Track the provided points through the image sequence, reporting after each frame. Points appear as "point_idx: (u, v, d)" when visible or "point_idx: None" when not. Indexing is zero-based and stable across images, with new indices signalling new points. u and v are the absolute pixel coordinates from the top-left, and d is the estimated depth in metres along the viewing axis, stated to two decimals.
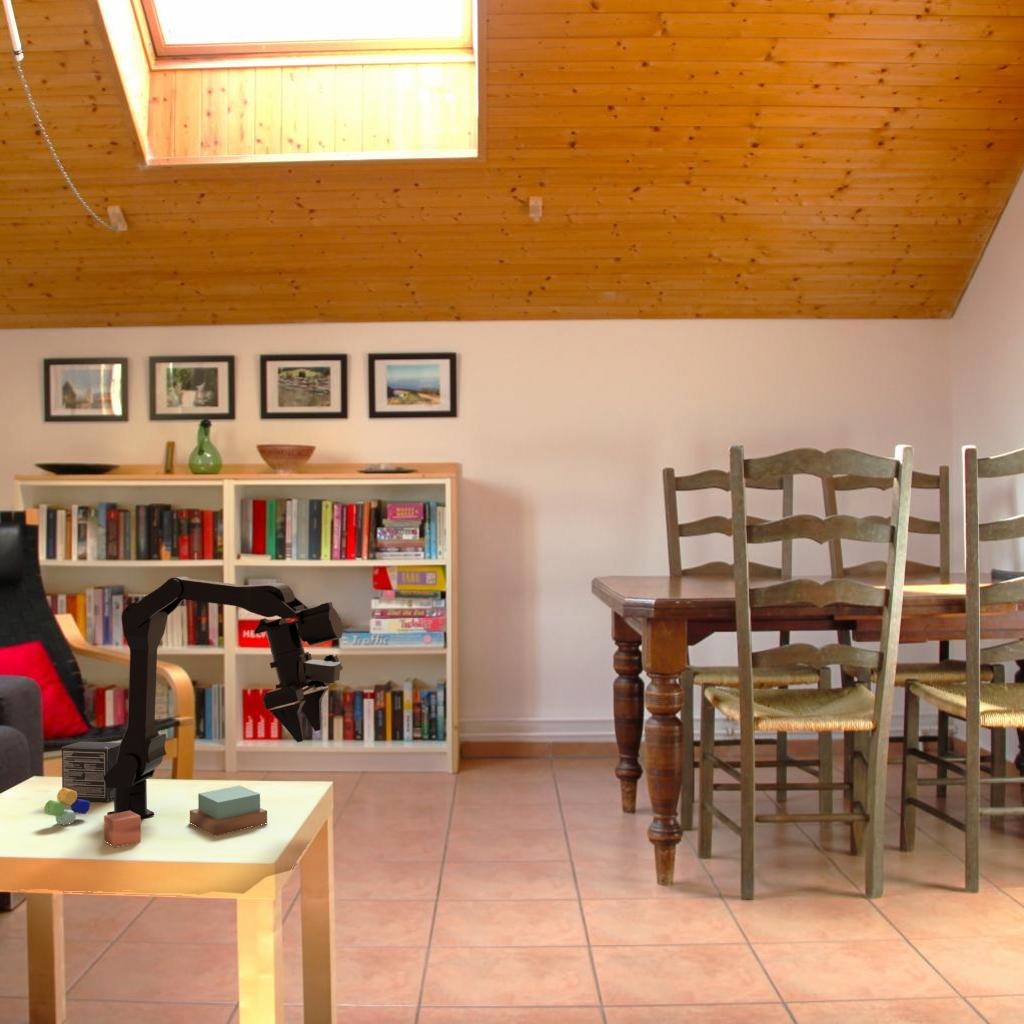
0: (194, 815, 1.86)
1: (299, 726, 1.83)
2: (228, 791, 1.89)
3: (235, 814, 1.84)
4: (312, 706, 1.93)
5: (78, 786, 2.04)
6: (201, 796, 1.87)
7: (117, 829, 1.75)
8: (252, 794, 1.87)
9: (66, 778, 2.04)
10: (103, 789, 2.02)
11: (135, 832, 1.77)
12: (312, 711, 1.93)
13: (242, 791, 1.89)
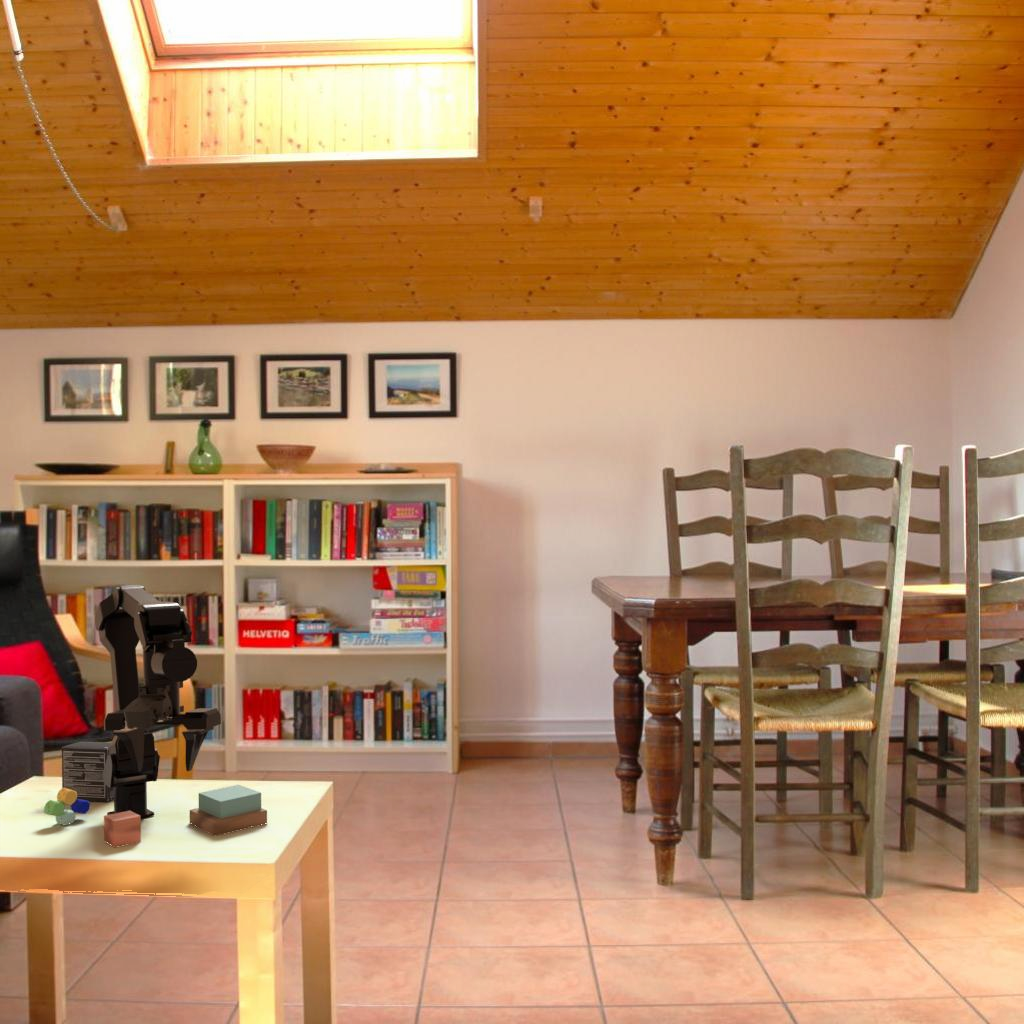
0: (194, 814, 1.86)
1: (131, 755, 1.76)
2: (228, 790, 1.89)
3: (237, 813, 1.84)
4: None
5: (78, 787, 2.04)
6: (202, 795, 1.87)
7: (117, 829, 1.75)
8: (253, 793, 1.87)
9: (66, 778, 2.04)
10: (103, 789, 2.02)
11: (135, 831, 1.77)
12: None
13: (242, 790, 1.89)
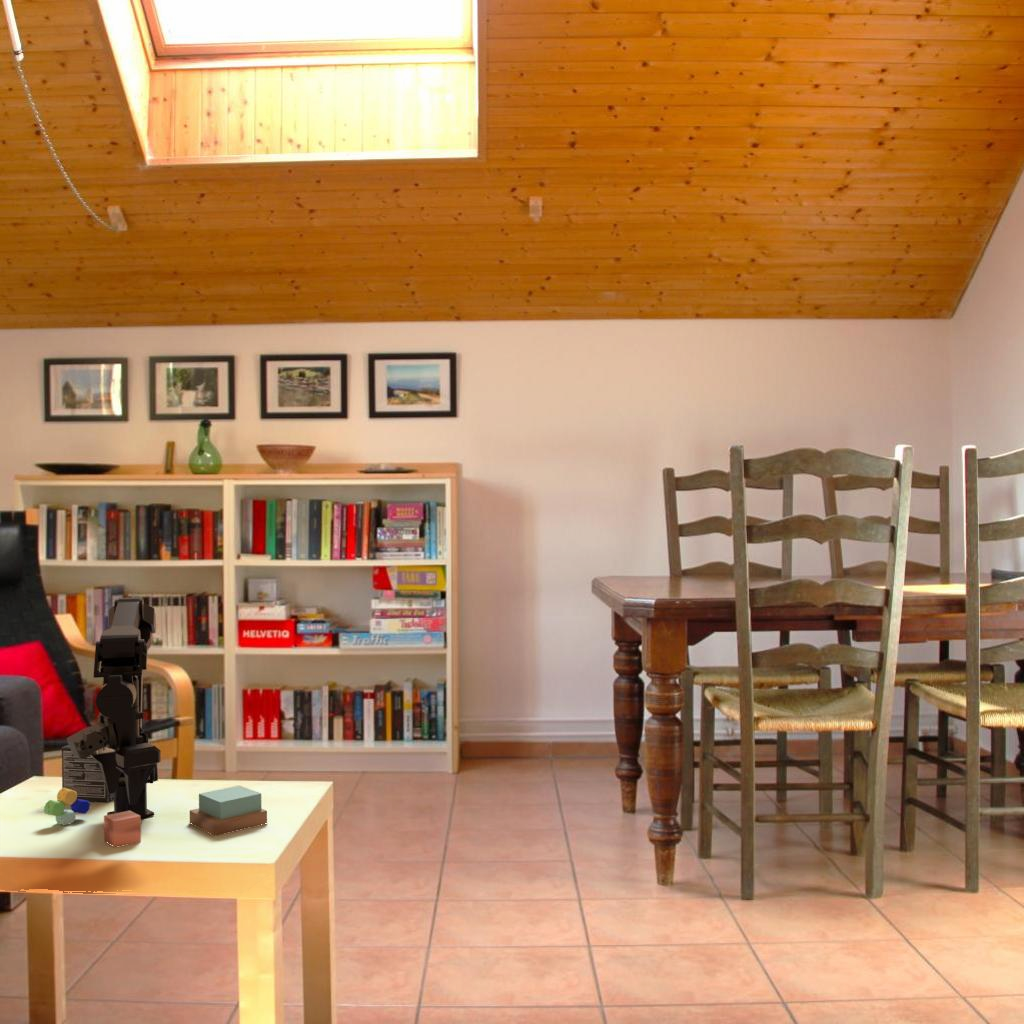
0: (194, 815, 1.86)
1: None
2: (229, 791, 1.89)
3: (237, 814, 1.84)
4: None
5: (78, 787, 2.04)
6: (202, 796, 1.87)
7: (117, 829, 1.75)
8: (253, 794, 1.87)
9: (66, 778, 2.04)
10: (103, 789, 2.02)
11: (135, 832, 1.77)
12: None
13: (243, 791, 1.89)
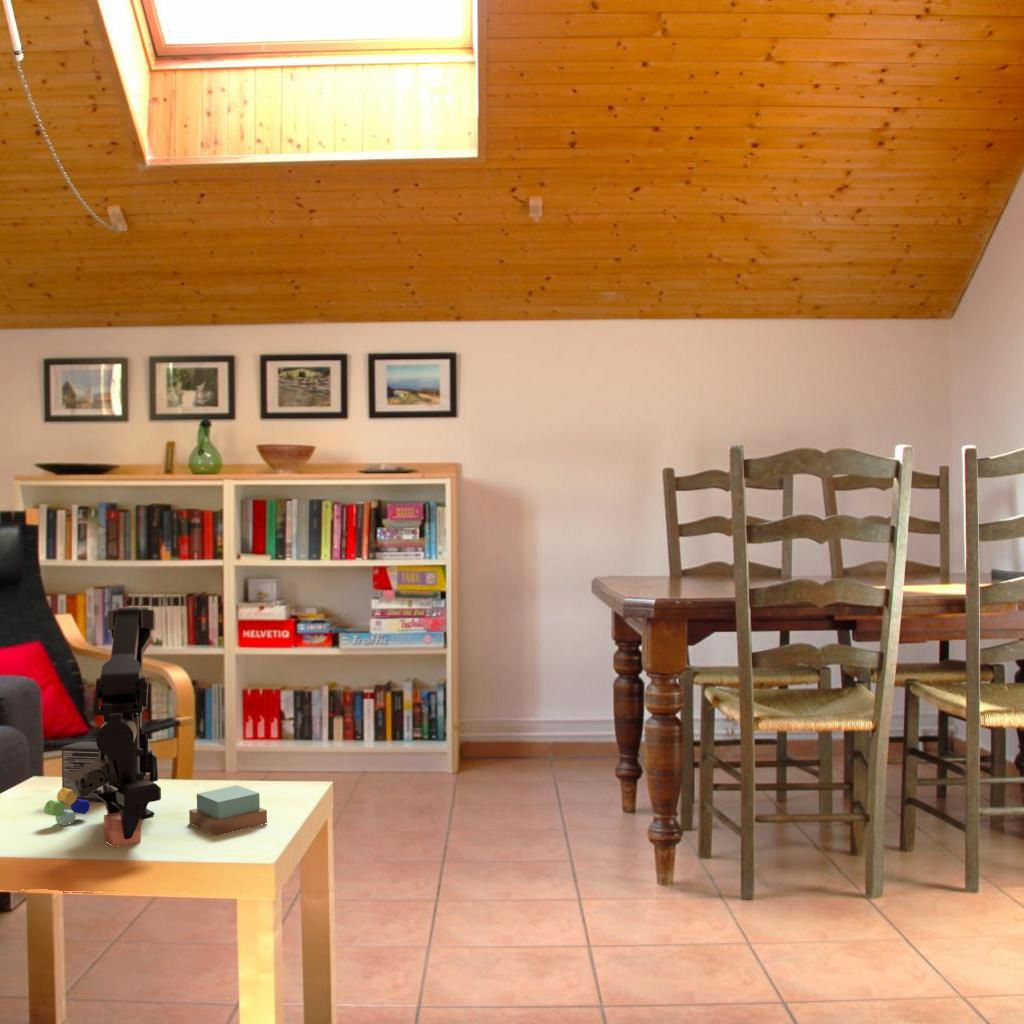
0: (194, 815, 1.86)
1: None
2: (227, 791, 1.89)
3: (235, 814, 1.84)
4: None
5: None
6: (200, 796, 1.87)
7: (117, 829, 1.75)
8: (251, 793, 1.87)
9: (66, 778, 2.04)
10: None
11: (135, 831, 1.77)
12: None
13: (241, 791, 1.89)
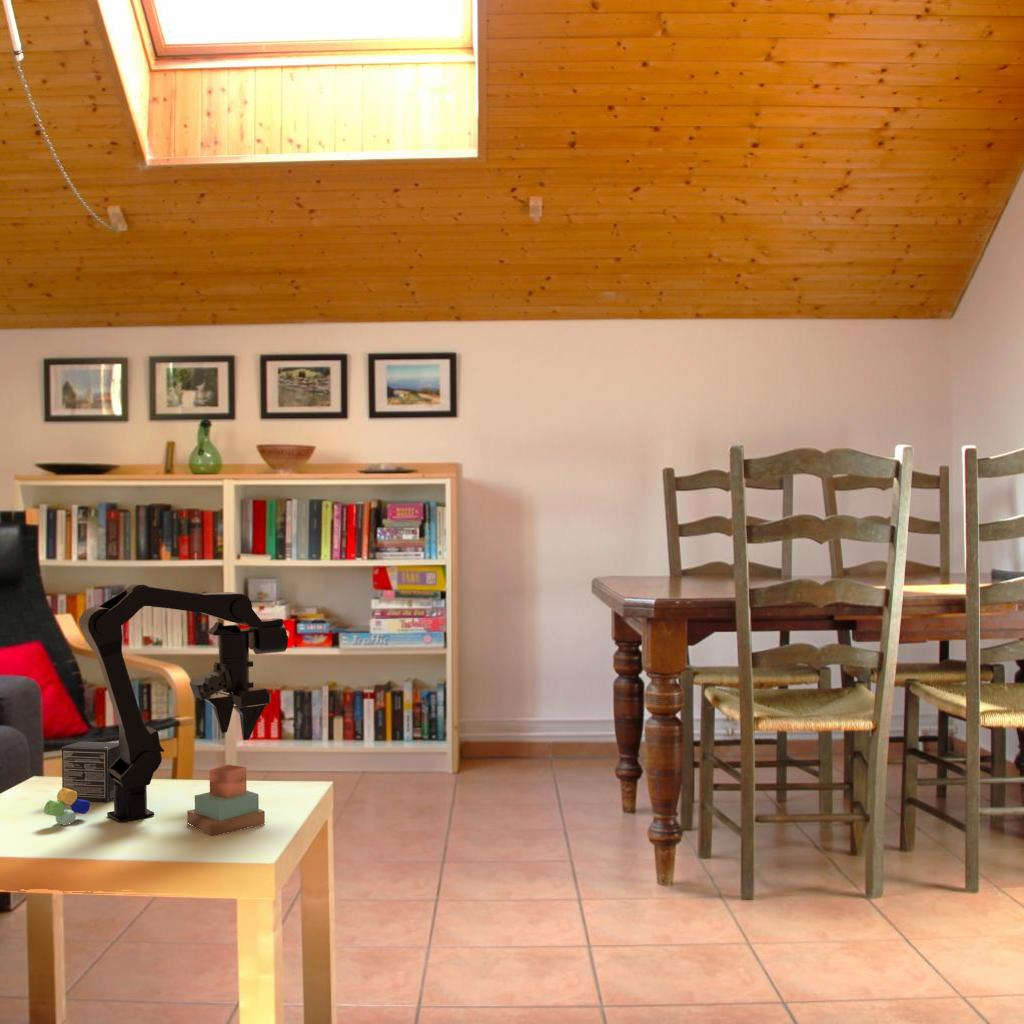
0: (192, 815, 1.86)
1: (218, 719, 2.08)
2: None
3: (235, 815, 1.84)
4: None
5: (78, 787, 2.04)
6: (198, 798, 1.86)
7: (230, 780, 1.85)
8: (251, 794, 1.87)
9: (66, 778, 2.04)
10: (103, 789, 2.02)
11: (242, 782, 1.88)
12: None
13: None
